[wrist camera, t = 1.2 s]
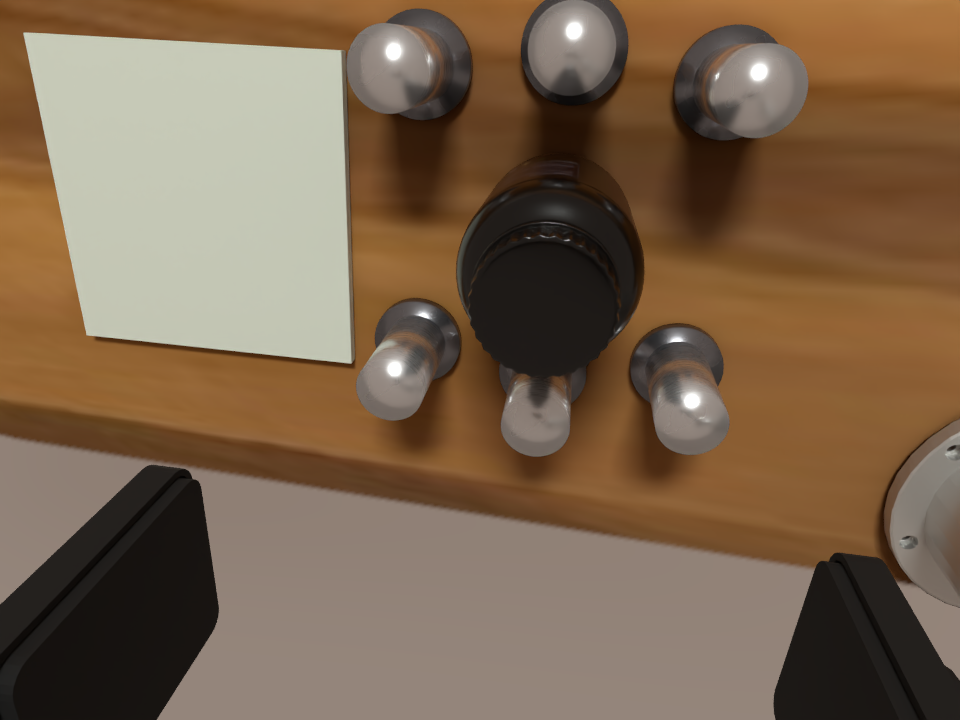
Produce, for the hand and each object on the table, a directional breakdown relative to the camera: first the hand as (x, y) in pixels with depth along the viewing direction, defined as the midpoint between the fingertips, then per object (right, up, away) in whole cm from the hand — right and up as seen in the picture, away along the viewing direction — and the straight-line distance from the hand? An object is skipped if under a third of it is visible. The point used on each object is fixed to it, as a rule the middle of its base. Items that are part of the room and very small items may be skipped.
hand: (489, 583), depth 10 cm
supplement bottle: (+3, +10, +22) cm, 24 cm away
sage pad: (-14, +11, +24) cm, 30 cm away
